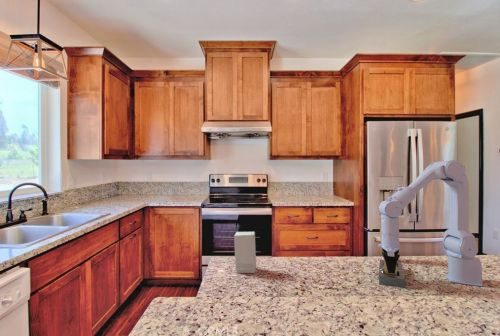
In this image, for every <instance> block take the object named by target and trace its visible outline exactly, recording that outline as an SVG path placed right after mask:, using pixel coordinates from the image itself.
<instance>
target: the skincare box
mask: <svg viewBox="0 0 500 336" xmlns="http://www.w3.org/2000/svg"><path fill="white" fill-rule="evenodd" d="M233 237H234V260H235V261H234V264H235V274H256V271H257V255H256V253H257V252H256V232H255V231H236V232H235V234H234V235H233Z"/></svg>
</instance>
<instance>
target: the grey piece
mask: <svg viewBox="0 0 500 336" xmlns="http://www.w3.org/2000/svg"><path fill="white" fill-rule="evenodd" d="M378 267H379V268H378V270H379V271H378V285H381V286H388V287H396V288H400V289H406V280H405V274H404V269H403V262H402V261H399V260H398V261H397V276H394V275H387V274H385V273H384V260H382V258H381V259H379V266H378Z"/></svg>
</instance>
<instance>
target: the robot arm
mask: <svg viewBox="0 0 500 336" xmlns="http://www.w3.org/2000/svg"><path fill="white" fill-rule="evenodd" d="M436 180H440V181H442V182H444V183H445V184H446V185H448V186H449V227H448V228H447V229H446V230H445V231H444V237H443V239H442V247H443V248H444V249H445V250H446V254H447V273H444V275H445V277H446V279H447V280H448V282H449V283H454V284H455V283H456V284H463V285H469V286H470V285H471V286H476V287H484V284H483V273H482V272H483V268H482V262H481V259H480V257H476V256H477V254H478V253H479V252H478V251H479V248H478V245H477V243H476V236H475V235H474V234H473V233H472V232H471V231H470V230H469V224H470V223H469V222H470V221H469V219H470V218H469V217H470V216H469V214H470V213H469V202H470V201H469V196H470V195H469V192H470V191H469V190H470V189H469V186H470V184H469V179H468V177H467V175H466V166H465V164H462V163H461V162H460V161H458V160H455V159H451V160H441V161H439V160H438V161H435V160H434V161H433V162H431V163H430V164H429V165H428V166H426V167H425V169H424V170H423V171H422V172H421V173H420V174H419V175H418V176H417V177H416V178H414V180H413V181H412V182H411V183H410V184H409V185H408V186H401V187H400V186H399V187H397V188H396V190H397V191H396V192H395V193H393V194H392V195H391V196H388V197H387V200H382V201H381V202H380V203H379V206H378V207H377V210H378V213H379V214H380V218H381V222H380V223H381V225H380V226H381V230H382V244H381V243H378V248H381V250H383V252H381V256H382V255H383V257H384V259H385V262H386V266H387V271H388V273H393V274H395V270H396V264H397V261H398V262H399V259H400V257H401V255H400V254H399V253H400V250H401V246H400V224H399V223H400V222H399V217H400V216H402V213H403V209H404V208H406V207H407V206H408V205H409V204H410V203H411V202H412V201H414V200H415V199H416V197H417V196H416V194H417V193H418V192H419V191H421V190H422V189H423V188H425V186H427V185H428V184H430V183H431V182H432V181H436ZM382 248H383V249H382Z"/></svg>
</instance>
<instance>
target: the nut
mask: <svg viewBox="0 0 500 336" xmlns="http://www.w3.org/2000/svg"><path fill="white" fill-rule="evenodd" d="M384 273H385V274H387V275H394V276H397V264H396V270H395V274H393V273H388V271H387V266H386V262H385V259H384Z"/></svg>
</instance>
